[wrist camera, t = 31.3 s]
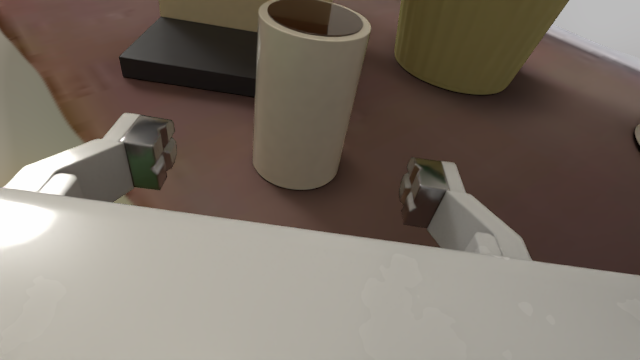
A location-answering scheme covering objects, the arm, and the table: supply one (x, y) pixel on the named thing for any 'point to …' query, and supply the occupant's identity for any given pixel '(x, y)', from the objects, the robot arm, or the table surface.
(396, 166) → the table surface
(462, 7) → the potted cactus
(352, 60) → the coffee cup
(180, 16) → the coffee maker
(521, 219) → the table surface
